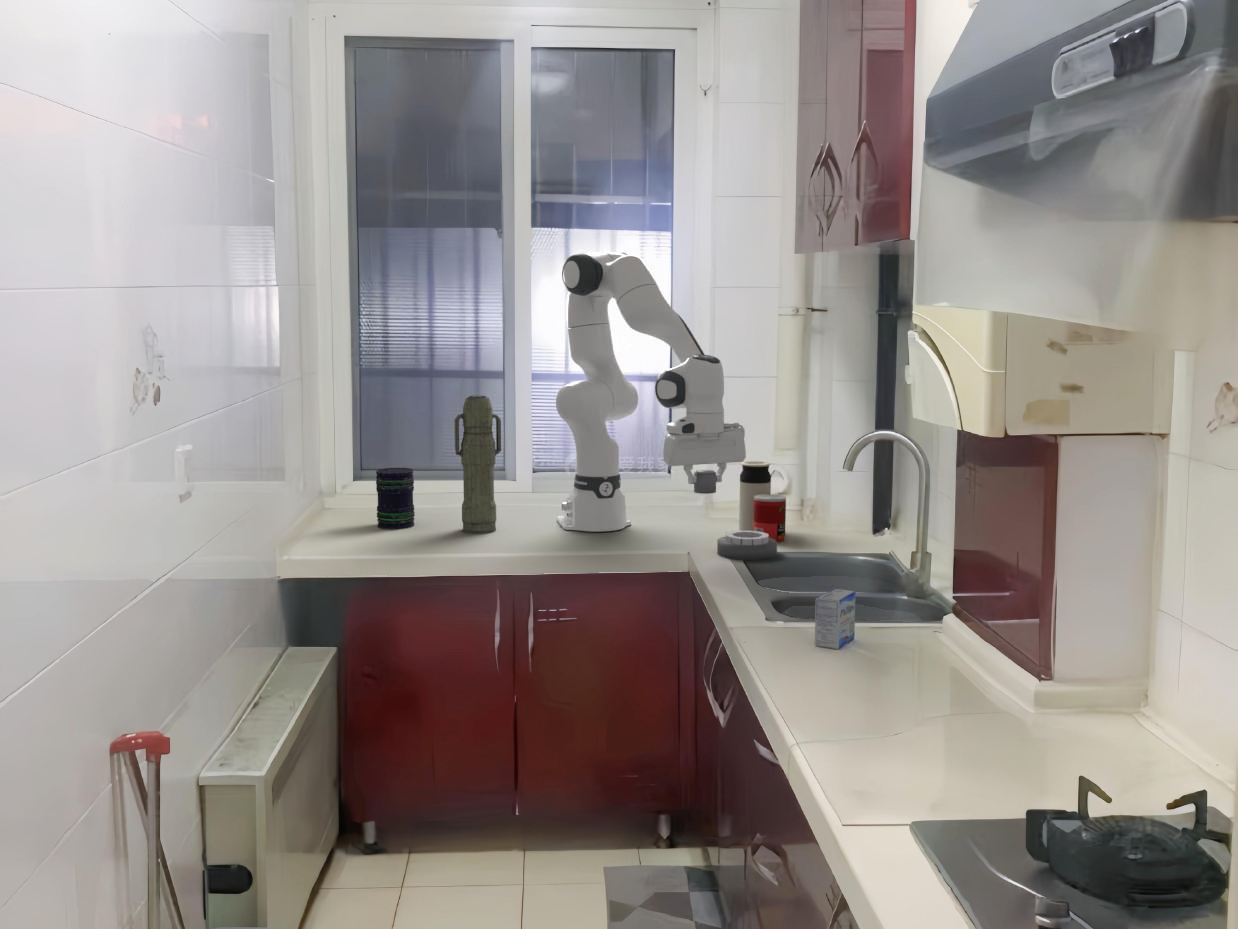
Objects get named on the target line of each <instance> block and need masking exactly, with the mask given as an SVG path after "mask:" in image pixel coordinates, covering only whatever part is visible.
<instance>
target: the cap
mask: <svg viewBox="0 0 1238 929" xmlns="http://www.w3.org/2000/svg"><path fill="white" fill-rule="evenodd" d="M716 473H717V471H715V470H712V469H696V470H695V471H694V472H693V476H696V477H697V480H696V481H697V484H693V492H694V493H695V494H702V495H703V494H704V495H705V494H706V495H707V494H715V493H717V482H716Z"/></svg>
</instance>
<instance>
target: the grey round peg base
mask: <svg viewBox="0 0 1238 929" xmlns="http://www.w3.org/2000/svg"><path fill="white" fill-rule="evenodd" d="M716 543H717V548H716V549H717V550H716V551H717V552H716V553H717V555H719V556H720V557H723V556H724V558H726V557H727V559H731V558H732V559H733V558H734V559H733V560H740V559H742V560H741V561H743V560H745V561H758V560H768V559H772V558H775V557H777V555H776V554H778V542H777V541H776V540H775V539H772V538H769V534H767V533H764V532H758V531H740V530H733V531H728V532H726V533H725V536H721V537H720V538H718V539H717V542H716Z"/></svg>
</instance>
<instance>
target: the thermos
mask: <svg viewBox="0 0 1238 929" xmlns="http://www.w3.org/2000/svg"><path fill="white" fill-rule="evenodd" d="M464 399H465V400H464V403H463V406H462V413H460V414H457V416H456V417H455V419H454V451H455V455H456V456H460V459H461V460H460V461H461V462H460V463H461V465H462V469H463V470H462V472H463V473H462V475H463V476H462V478H463V502H462V504H461V522H462V532H464V533H466V534H467V533H468V534H490V533H494V532H496V530H497V528H496V522H497V505H496V502H495V501H496V500H495V483H494V482H495V481H494V480H495V476H494V475H495V474H494V473H495V472H494V469H495V464H496V456H497V455H499V454H500V453H501V451H502V419H501V418H500V417H499V415H498V414H496V413H495V414H494V413H493V406H492V402H491V399H490V397H488V396H487V395H468V397H465V398H464ZM461 419H462V427H463V432H462V433H463V434H462V435H463V436H462V440H461V443H460V420H461ZM493 419H495V425H496V426H495V428H496V429H495V430H496V432H495V434H496V435H495V436H496V438H495V437H494V434H493V433H494V432H493V424H494V423H493V422H494V421H493ZM494 438H495V439H496V441H495V439H494Z"/></svg>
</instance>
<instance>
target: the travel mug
mask: <svg viewBox="0 0 1238 929" xmlns="http://www.w3.org/2000/svg"><path fill="white" fill-rule="evenodd" d="M740 464H741V467H742V471H741V473H740V474H739V505H738V506H739V508H738V509H739V511H738V512H739V515H738V516H739V517H738V518H739V519H738V531H753V523H754V496H756V495H761V494H771V492H772V491H771V490H772V489H771V486H772V484H771V483H772V475H771V473H770V471H769V469H770V465H771V462H769V461H761V460H748V461H747V460H746V461H745V460H744V461H743V462H740Z"/></svg>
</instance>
